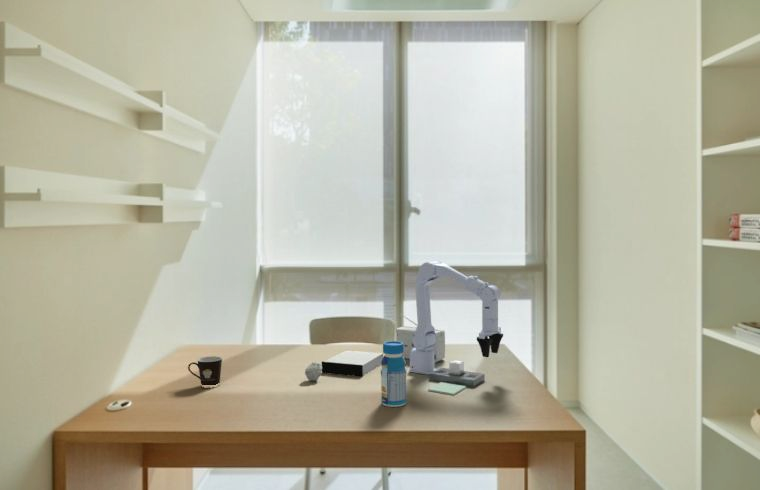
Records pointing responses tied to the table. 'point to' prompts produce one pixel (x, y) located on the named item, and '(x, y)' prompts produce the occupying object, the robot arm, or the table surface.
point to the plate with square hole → (457, 377)
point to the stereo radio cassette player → (406, 338)
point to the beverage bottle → (393, 375)
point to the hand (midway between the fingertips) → (490, 354)
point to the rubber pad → (447, 388)
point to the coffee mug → (208, 370)
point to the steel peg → (456, 368)
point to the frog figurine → (313, 371)
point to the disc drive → (352, 363)
